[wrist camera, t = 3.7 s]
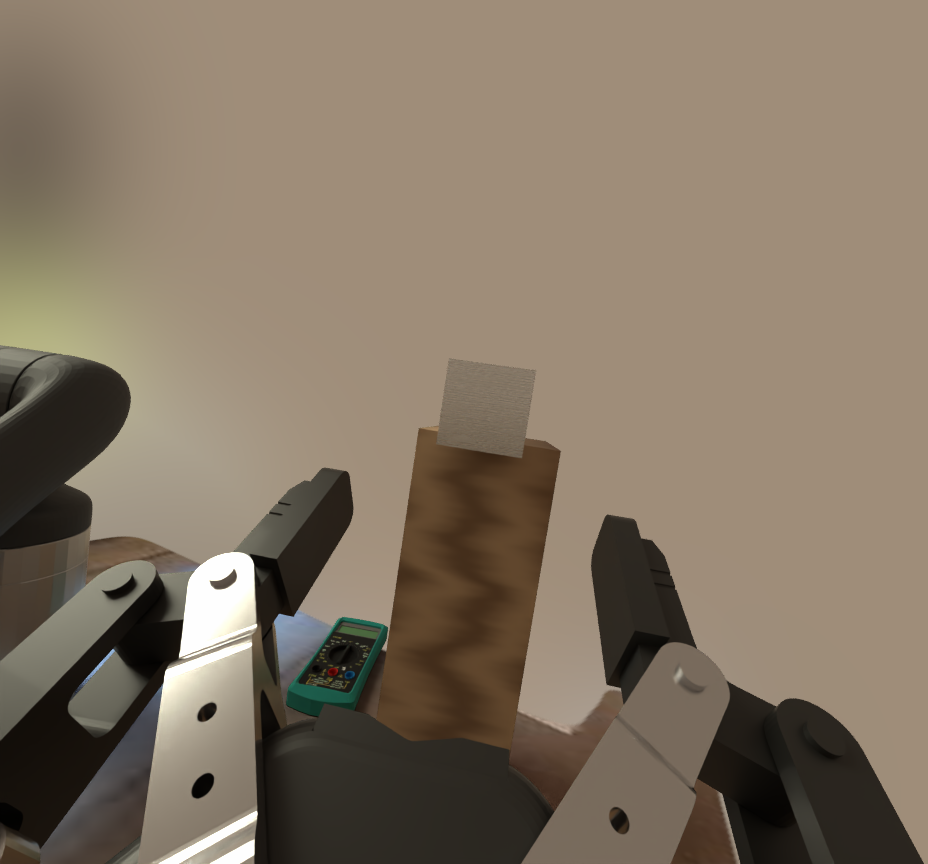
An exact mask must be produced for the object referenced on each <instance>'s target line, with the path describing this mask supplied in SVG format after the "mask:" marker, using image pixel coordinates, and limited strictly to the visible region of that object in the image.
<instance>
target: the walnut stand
mask: <svg viewBox="0 0 928 864" xmlns="http://www.w3.org/2000/svg"><path fill="white" fill-rule="evenodd" d="M438 428H439V426H434V427H426V428H419V432H418V438H417V445H416V452H415V459H414V466H413V473H412V479H411V486H410V493H409V500H408V507H407V514H406V521H405V528H404V535H403V541H402V548H401V555H400V562H399V569H398V576H397V583H396V590H395V597H394V603H393V610H392V617H391V624H390V631H389V638H388V645H387V651H386V658H385V665H384V672H383V679H382V686H381V693H380V699H379V706H378V713H377V720H378V721H379V722H381V723H382V724H384V725H385V726H387V727H389V728H390V729H392V730H393V731H395V732H396V733H398V734H399V735H401V736H403V737H404V738H406V739H408V740H411V741H423V740H437V739H451V738H465V739H469V740H473V741H477V742H481V743H485V744H489V745H493V746H497V747H501V748H505V749H509V750H511V744H512V738H513V732H514V726H515V720H516V714H517V708H518V702H519V696H520V690H521V684H522V678H523V672H524V666H525V660H526V655H527V654H526V653H527V649H528V643H529V637H530V631H531V625H532V619H533V613H534V607H535V601H536V595H537V589H538V583H539V577H540V571H541V565H542V559H543V553H544V546H545V541H546V536H547V530H548V523H549V517H550V512H551V506H552V500H553V494H554V488H555V482H556V476H557V470H558V463H559V458H560V452H561V451H560V450H558V449H557V448H555V447H554V446H552V445H551V444H549V443H548V442H546V441H540V440H534V439H527V438H525V442H524V448H523V454H522V458H517V457H511V456H505V455H499V454H492V453H486V452H480V451H474V450H468V449H462V448H456V447H450V446H444V445H438V444H436V442H437V435H438ZM509 756H510V752H509Z"/></svg>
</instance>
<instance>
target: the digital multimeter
mask: <svg viewBox="0 0 928 864" xmlns="http://www.w3.org/2000/svg"><path fill="white" fill-rule="evenodd" d="M387 632H388V627H386V626H385V625H383V624H379V623H375V622H370V621H365V620H360V619H353V618H347V617H342V618H339V619H338V620H337V621H336V623H335V625H334V626H333V628H332V629H331V631H330V633H329V634H328V636H327V637H326V639H325V640H324V642H323V643H322V644H321V646H320V647H319V649H318V650H317V652H316V653H315V654H314V656H313V657H312V658H311V660H310V661H309V662H308V663H307V665H306V666H305V667H304V669H303V670H302V671H301V672H300V674H299V675H298V676H297V677H296V678H295V680H294V681H293V682H292V683H291V685H290V686H289V687H288V692H287V700H286V705H287V706H289V707H291V708H294V709H296V710H298V711H301V712H303V713H306V714H309V715H313V716H318V717H319V715H320V712H321V710H322V708H323V706H324V703H325V704H329V705H333V706H337V707H341V708H345V709H349V710H353V711H354V710H355V708H356V705H357V702H358V700H359V697H360V695H361V692H362V690H363V687H364V685H365V683H366V680H367V678H368V675H369V673H370V671H371V669H372V667H373V665H374V663H375V661H376V659H377V657H378V655H379V653H380V651H381V649H382V647H383V645H384V644H385V641H386V639H387ZM350 644H351V645H350ZM355 646H356V647H355ZM332 647H333V648H332ZM359 650H360V651H359ZM327 655H328V656H327ZM360 672H361V673H360ZM359 674H360V675H359ZM358 676H359V677H358ZM357 678H358V679H357ZM356 680H357V681H356ZM355 682H356V683H355Z"/></svg>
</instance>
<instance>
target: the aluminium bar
mask: <svg viewBox="0 0 928 864" xmlns="http://www.w3.org/2000/svg"><path fill="white" fill-rule="evenodd" d="M535 374H536V371H535V370H528V369H521V368H514V367H506V366H499V365H492V364H484V363H477V362H470V361H463V360H456V359H449V361H448V368H447V375H446V381H445V388H444V395H443V402H442V408H441V415H440V422H439V428H438V435H437V442H436V444H438V445H444V446H450V447H456V448H462V449H468V450H474V451H480V452H486V453H492V454H499V455H505V456H511V457H517V458H522V454H523V448H524V442H525V436H526V429H527V424H528V417H529V411H530V404H531V399H532V393H533V386H534V380H535Z"/></svg>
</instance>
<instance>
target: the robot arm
mask: <svg viewBox="0 0 928 864" xmlns="http://www.w3.org/2000/svg"><path fill="white" fill-rule="evenodd" d="M130 399H131V396H130V391H129V387H128V385H127V383H126V381H125V380H124V379H123V378H122V377H121V375H120V374H119V373H117V372H116V371H114V370H113V369H112V368H110V367H108V366H106V365H103V364H100V363H98V362H95V361H91V360H87V359H83V358H79V357H75V356H69V355H62V354H56V353H49V352H43V351H35V350H29V349H23V348H16V347H9V346H1V345H0V864H40V855H41V854H40V849H41V847H42V846H43V845H44V843H45V842H46V841H47V839H48V838H49V837H50V835H51V834H52V833H53V831H54V830H55V829H56V827H57V826H58V824H59V823H60V822H61V820H62V819H63V818H64V816H65V815H66V814H67V812H68V811H69V810H70V808H71V807H72V806H73V804H74V803H75V802H76V800H77V799H78V797H79V796H80V795H81V793H82V792H83V791H84V789H85V788H86V787H87V785H88V784H89V783H90V781H91V780H92V779H93V777H94V776H95V774H96V773H97V772H98V770H99V769H100V768H101V766H102V765H103V764H104V762H105V761H106V760H107V758H108V757H109V756H110V754H111V753H112V752H113V750H114V749H115V747H116V746H117V745H118V743H119V742H120V741H121V739H122V738H123V737H124V735H125V734H126V733H127V731H128V730H129V729H130V727H131V726H132V724H133V723H134V722H135V720H136V719H137V718H138V716H139V715H140V714H141V712H142V711H143V710H144V708H145V707H146V706H147V704H148V703H149V701H150V700H151V699H152V697H153V696H154V695H155V693H156V692H157V691H158V689H159V688H160V687H161V685H162V684H163V683H164V685H163V691H162V698H161V705H160V712H159V719H158V726H157V733H156V740H155V747H154V754H153V760H152V767H151V774H150V781H149V788H148V795H147V802H146V809H145V816H144V823H143V829H142V835H141V836H140V837H138V838H137V839H136V840H134V841H133V842H132V843H131V844H129V845H128V846H127V847H126V848H124V849H123V850H122V851H120V852H119V853H118V854H117V855H115V856H114V857H113V858H112V859H110V860H109V861H108V862H106V863H105V864H671V861H672V859H673V856H674V854H675V851H676V849H677V847H678V844H679V842H680V839H681V837H682V834H683V832H684V829H685V827H686V824H687V822H688V819H689V817H690V815H691V812H692V809H693V807H694V803H695V800H696V791H695V790H694V785H695V782H696V779H699V780H701V781H702V782H704V783H706V784H707V785H709V786H711V787H712V788H714V789H715V790H717V791H719V792H720V793H722V794H723V798H724V802H725V805H726V810H727V813H728V817H729V821H730V825H731V829H732V833H733V837H734V840H735V844H736V848H737V852H738V856H739V860H740V864H924V863H923V861H922V859H921V858H920V855H919V854H918V852H917V850H916V848H915V846H914V844H913V843H912V841H911V839H910V837H909V835H908V833H907V831H906V830H905V828H904V826H903V824H902V822H901V821H900V819H899V817H898V815H897V813H896V811H895V809H894V807H893V805H892V804H891V802H890V800H889V798H888V796H887V794H886V792H885V791H884V789H883V787H882V785H881V783H880V781H879V780H878V778H877V776H876V774H875V772H874V770H873V768H872V767H871V765H870V763H869V761H868V759H867V757H866V755H865V754H864V752H863V750H862V748H861V747H860V745H859V744H858V742H857V741H856V740H855V739H854V737H853V736H852V735H851V733H850V732H849V731H848V730H847V729H846V728H845V727H844V726H843V725H842V724H841V723H840V722H839V721H838V720H837V719H835V718H834V717H833V716H832V715H830V714H829V713H827V712H826V711H825V710H823V709H821V708H820V707H818V706H816V705H814V704H812V703H810V702H807V701H804V700H800V699H786V700H784V701H782V702H781V703H780V704H779V705H778V706H777V707H776V706H773V705H772V704H770V703H768V702H766V701H764V700H762V699H760V698H758V697H756V696H754V695H752V694H750V693H748V692H746V691H744V690H742V689H740V688H738V687H736V686H735V685H733V684H731V683H729V682H728V681H727V680H726V679H725V677H724V675H723V674H722V672H721V671H720V669H719V668H718V667H717V665H716V664H715V663H714V662H713V661H712V660H711V659H710V658H709V657H708V656H706V655H705V654H704V653H703V652H701V651H699V650H698V649H697V647H696V645H695V642H694V639H693V636H692V634H691V631H690V628H689V625H688V622H687V619H686V616H685V614H684V611H683V608H682V605H681V602H680V599H679V596H678V593H677V590H675V585H674V582H673V579H672V576H670V570H669V568H668V565H667V562H666V559H665V556H664V555H663V553H661V551H660V550H659V549H658V547H657V546H656V545H655V544H654V542H653V541H651V540H647V539H641V537H640V534H639V530H638V527H637V524H636V521H635V520H634V519H630V518H624V517H619V516H612V515H606V517H605V519H604V521H603V524H602V527H601V530H600V532H599V535H598V538H597V541H596V544H595V547H594V550H593V554H592V562H591V570H592V578H593V585H594V593H595V600H596V608H597V615H598V624H599V631H600V638H601V646H602V654H603V662H604V669H605V677H606V683H607V685H610V686H615V687H619V688H621V691H622V697H623V704H624V706H623V707H622V709H621V710H620V712H619V713H618V715H617V716H616V717H615V719H614V720H613V722H612V724H611V725H610V727H609V728H608V730H607V731H606V733H605V734H604V736H603V737H602V739H601V741H600V742H599V744H598V745H597V747H596V748H595V750H594V751H593V753H592V755H591V756H590V758H589V759H588V761H587V762H586V764H585V765H584V767H583V768H582V770H581V772H580V773H579V775H578V776H577V778H576V779H575V781H574V782H573V784H572V786H571V787H570V789H569V790H568V792H567V793H566V795H565V796H564V798H563V800H562V801H561V803H560V804H559V806H558V807H557V809H556V810H555V812H554V810H553V809H552V807H551V806H550V804H549V803H548V801H547V800H546V799H545V797H544V796H543V795H542V793H541V792H540V791H539V790H538V789H537V788H536V787H535V786H534V784H533V783H532V782H531V781H530V780H529V779H528V778H526V777H525V776H524V775H523V774H522V773H520V772H519V771H518V770H516V769H515V768H513V767H512V766H510V765H509V752H510V750H509V749H505V748H501V747H497V746H493V745H489V744H485V743H481V742H477V741H473V740H469V739H465V738H451V739H437V740H423V741H411V740H408V739H406V738H404V737H403V736H401V735H399V734H398V733H396V732H395V731H393V730H392V729H390V728H389V727H387V726H385V725H384V724H382V723H381V722H379V721H378V720H376V719H375V718H373V717H371V716H370V715H368V714H365V713H361V712H357V711H353V710H349V709H345V708H341V707H337V706H333V705H329V704H325V703H324V706H323V708H322V710H321V712H320V715H319V717H318V718H311V719H307V720H302V721H299V722H296V723H293V724H290V725H288V726H287V721H286V715H285V710H284V705H283V701H282V695H281V686H280V675H279V663H278V652H277V641H276V630H275V625H274V621H275V619H276V617H277V616H278V614H283V615H288V616H292V617H294V615H295V613H296V612H297V610H298V608H299V607H300V605H301V603H302V602H303V600H304V599H305V597H306V595H307V594H308V592H309V590H310V589H311V587H312V586H313V584H314V582H315V580H316V579H317V577H318V576H319V574H320V572H321V571H322V569H323V567H324V566H325V564H326V563H327V561H328V559H329V558H330V556H331V554H332V552H333V551H334V549H335V548H336V546H337V545H338V543H339V541H340V540H341V538H342V536H343V535H344V533H345V531H346V530H347V528H348V526H349V525H350V522H351V519H352V515H353V500H352V492H351V484H350V476H349V473H348V472H347V471H342V470H336V469H330V468H322V469H321V470H320V471H319V472H318V473H317V475H316V476H315V477H314V478H313V479H312V481H311V482H310V481H303V482H301V483H300V484H298V485H296V486H295V487H293V488H292V489H290V490H289V491H288V492H287V493H286V494H285V495H284V496H283V497H282V498H281V499H280V500H279V502H278V504H276V505H275V506H274V507H273V508H272V509H271V510H270V512H269V514H267V515H266V516H265V517H264V518H263V519H262V520H261V522H260V523H259V524H258V525H257V526H256V527H255V528H254V529H253V530H252V532H251V533H250V534H249V535H248V536H247V537H246V538H245V539H244V540H243V542H242V543H241V544H240V545H239V546H238V547H237V548H236V549H235V550H234V552H232V553H227V554H222V555H219V556H217V557H214V558H213V559H210V560H209V561H207V562H205V563H204V564H203V565H201V566H200V567H199V568H198V569H197V570H196V571H191V572H180V573H169V574H158V572H157V570H156V569H155V567H154V565H153V564H152V563H150V562H147V561H130V562H126V563H122V564H119V565H117V566H114V567H112V568H110V569H108V570H106V571H104V572H103V573H101V574H100V575H98V576H97V577H95V578H94V579H93V580H92V581H91V582H89V583H88V584H87V585H86V586H85V583H86V573H87V562H88V550H89V540H90V529H91V520H92V519H91V518H92V501H91V499H90V497H89V496H88V495H86V494H85V493H83V492H82V491H80V490H77V489H75V488H73V487H70V486H68V485H66V484H64V483H65V482H66V481H68V480H69V479H70V478H71V477H73V476H74V475H75V474H76V473H78V472H79V471H80V470H81V469H83V468H84V467H85V466H86V465H87V464H89V463H90V462H91V461H92V460H94V459H95V458H96V457H97V456H98V455H99V454H100V453H101V452H103V451H104V450H105V448H107V447H108V445H109V444H110V443H111V442H112V441H113V440H114V438H115V437H116V436H117V435H118V433H119V431H120V430H121V428H122V427H123V425H124V422H125V420H126V418H127V415H128V412H129V408H130V402H131V400H130ZM112 649H114V650H115V652H114V653H113V654H112V655H111V656H110V658H109V659H108V660H107V661H106V662H105V663H104V664H103V665H102V666H101V668H100V669H99V670H98V671H97V672H96V673H95V674H94V675H93V676H92V678H91V679H90V680H89V681H88V682H87V683H86V684H85V685H84V686H83V688H82V689H81V690H80V691H79V692H78V693H77V694H76V695H75V696H74V693H75V690H76V689H77V688H78V686H79V685H80V684H81V683H82V682H83V681H84V680H85V679H86V678H87V676H88V675H89V674H90V673H91V672H92V671H93V670H94V669H95V668H96V667H97V665H98V664H99V663H100V662H101V661H102V660H103V659H104V658H105V657H106V656H107V655H108V653H109V652H110V651H111V650H112ZM73 696H74V697H73Z"/></svg>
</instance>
